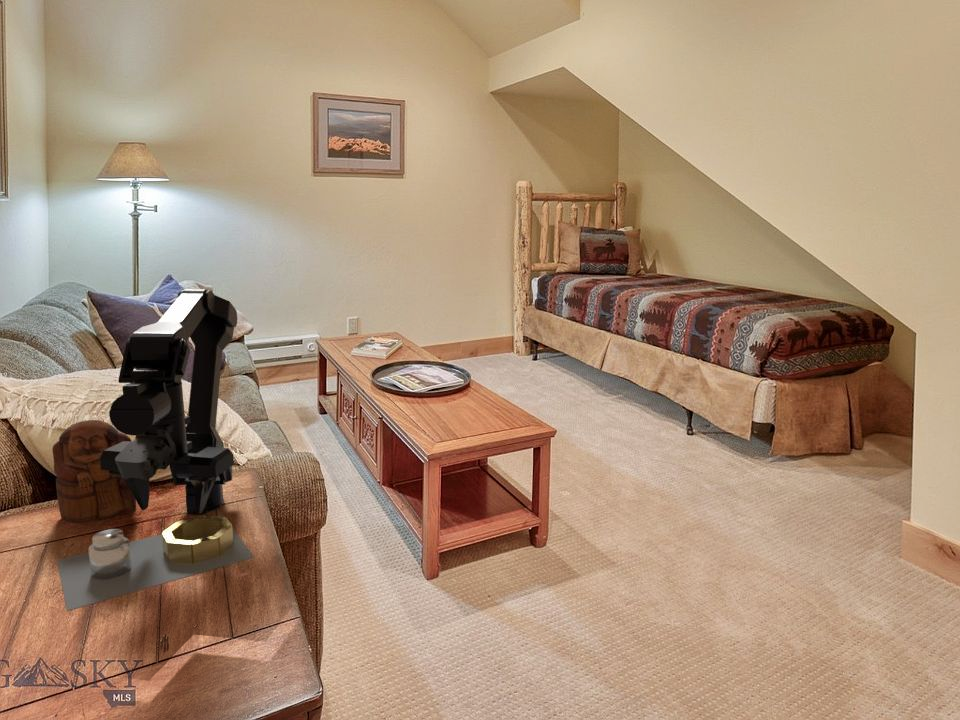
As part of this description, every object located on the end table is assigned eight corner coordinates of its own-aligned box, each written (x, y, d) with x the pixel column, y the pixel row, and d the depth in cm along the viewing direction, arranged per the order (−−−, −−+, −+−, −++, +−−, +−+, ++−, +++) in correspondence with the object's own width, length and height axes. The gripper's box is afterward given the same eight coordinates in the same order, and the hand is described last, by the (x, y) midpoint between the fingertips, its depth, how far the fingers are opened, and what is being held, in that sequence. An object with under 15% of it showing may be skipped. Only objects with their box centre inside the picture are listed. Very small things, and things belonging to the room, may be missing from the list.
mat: (225, 527, 109) (224, 518, 109) (255, 566, 96) (254, 557, 96) (58, 568, 95) (57, 559, 95) (68, 621, 82) (66, 610, 82)
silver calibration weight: (108, 560, 95) (104, 525, 94) (139, 563, 94) (135, 528, 93) (82, 577, 90) (78, 541, 89) (115, 581, 89) (111, 544, 88)
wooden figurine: (60, 536, 105) (47, 431, 101) (60, 521, 110) (48, 421, 107) (141, 520, 111) (131, 421, 108) (137, 507, 116) (128, 412, 113)
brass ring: (188, 531, 104) (187, 514, 103) (242, 535, 103) (241, 518, 102) (151, 559, 95) (149, 541, 94) (210, 565, 94) (208, 546, 93)
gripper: (65, 426, 89) (78, 530, 92) (189, 434, 86) (198, 540, 89) (120, 405, 100) (130, 498, 103) (232, 411, 97) (238, 507, 100)
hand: (172, 511), depth 98 cm, fingers open, 9 cm apart
